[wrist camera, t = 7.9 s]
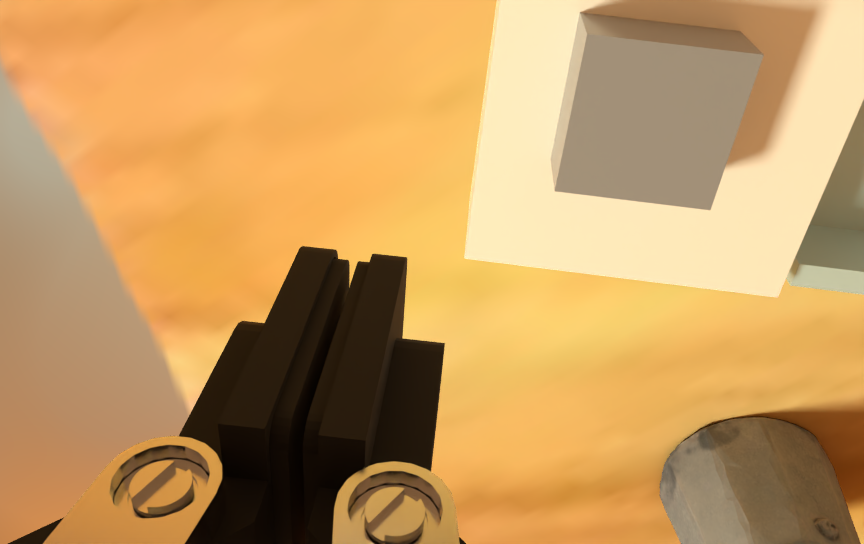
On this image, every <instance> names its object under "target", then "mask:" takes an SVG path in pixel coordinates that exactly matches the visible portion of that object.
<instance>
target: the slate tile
mask: <svg viewBox="0 0 864 544" xmlns="http://www.w3.org/2000/svg"><path fill="white" fill-rule="evenodd" d="M763 56H764V54H763V53H762V52H761V51H760V50H759V49H758V48H757V47H756V46H755V45H754V44H753V43H752V42H751V41H750V40H749V39H748V38H747V37H746V36H745V35H744V34H743V33H742V32H741V31H735V30H727V29H718V28H710V27H701V26H693V25H684V24H676V23H667V22H659V21H650V20H642V19H633V18H625V17H616V16H607V15H599V14H590V13H582V12H580V13H579V19H578V24H577V29H576V34H575V39H574V44H573V49H572V54H571V59H570V64H569V69H568V74H567V79H566V84H565V89H564V94H563V99H562V104H561V109H560V114H559V119H558V124H557V129H556V134H555V139H554V144H553V150H552V155H551V166H552V174H553V183H554V191H556V192H564V193H572V194H581V195H589V196H597V197H605V198H613V199H621V200H630V201H638V202H646V203H654V204H662V205H671V206H679V207H687V208H695V209H703V210H711V207H712V204H713V201H714V199H715V196H716V193H717V190H718V187H719V184H720V181H721V178H722V175H723V172H724V169H725V167H726V164H727V161H728V158H729V155H730V152H731V149H732V146H733V143H734V140H735V137H736V135H737V132H738V129H739V126H740V123H741V120H742V117H743V114H744V111H745V108H746V105H747V103H748V100H749V97H750V94H751V91H752V88H753V85H754V82H755V79H756V76H757V73H758V71H759V68H760V65H761V62H762V59H763Z"/></svg>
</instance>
